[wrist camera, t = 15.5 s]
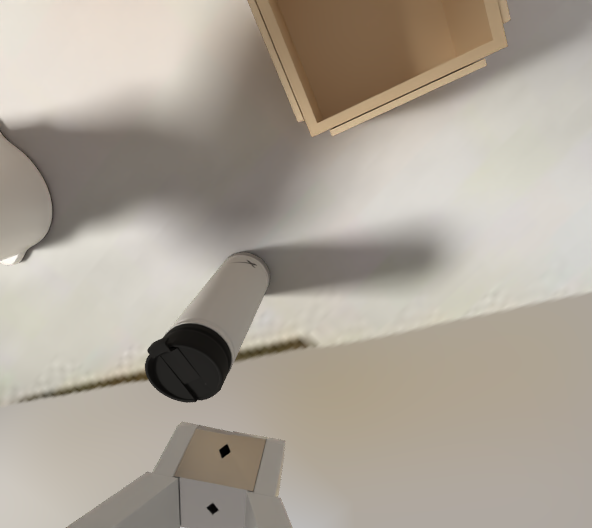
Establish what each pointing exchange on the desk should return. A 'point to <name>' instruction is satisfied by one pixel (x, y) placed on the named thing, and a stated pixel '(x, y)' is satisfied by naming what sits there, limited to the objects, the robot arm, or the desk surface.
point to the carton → (373, 52)
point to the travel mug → (209, 331)
